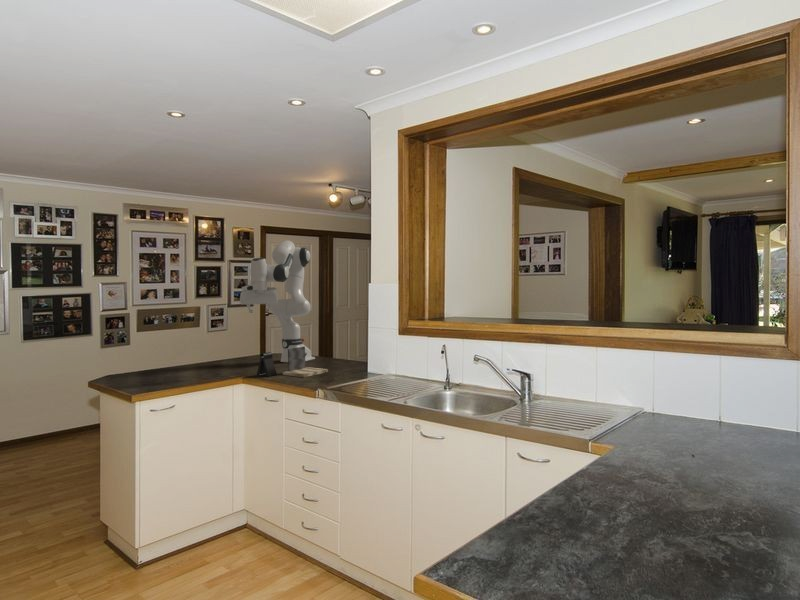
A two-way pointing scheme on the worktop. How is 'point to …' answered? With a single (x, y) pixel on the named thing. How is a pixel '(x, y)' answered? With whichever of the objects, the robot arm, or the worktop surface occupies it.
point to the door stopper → (266, 365)
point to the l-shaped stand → (300, 364)
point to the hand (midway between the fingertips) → (259, 312)
